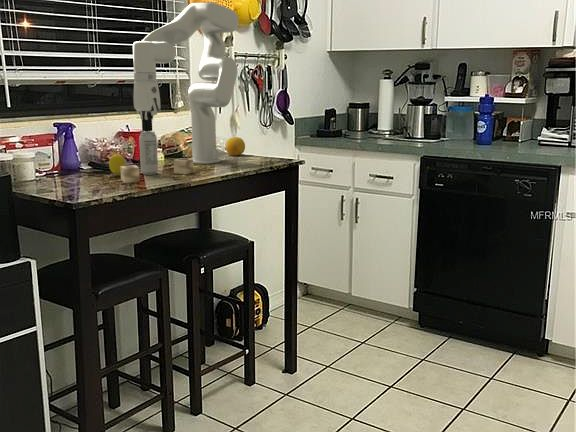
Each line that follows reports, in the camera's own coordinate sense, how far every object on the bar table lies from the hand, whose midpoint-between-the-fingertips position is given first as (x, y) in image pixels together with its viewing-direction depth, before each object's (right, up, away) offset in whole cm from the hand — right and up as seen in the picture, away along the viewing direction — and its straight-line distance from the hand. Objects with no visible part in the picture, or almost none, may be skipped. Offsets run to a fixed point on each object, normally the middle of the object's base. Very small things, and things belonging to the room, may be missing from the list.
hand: (147, 130), depth 222 cm
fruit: (+27, -4, +49) cm, 57 cm away
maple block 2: (+12, -14, +7) cm, 20 cm away
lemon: (-10, -16, 0) cm, 19 cm away
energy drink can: (0, -15, +4) cm, 16 cm away
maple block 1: (-3, -18, -10) cm, 21 cm away
